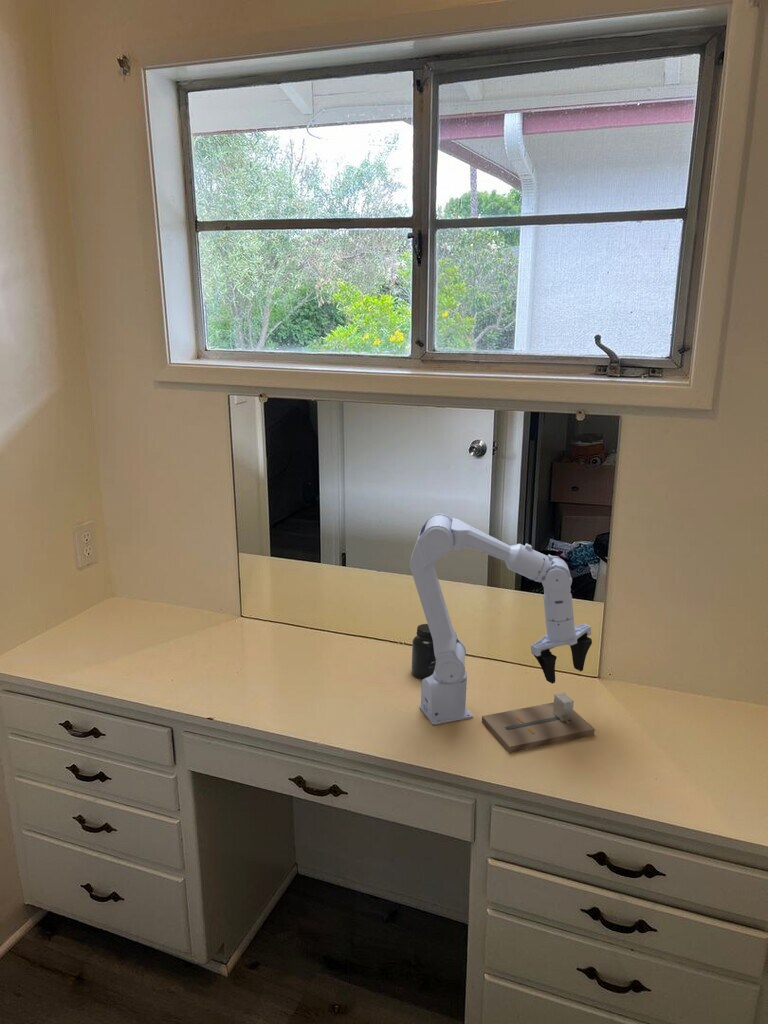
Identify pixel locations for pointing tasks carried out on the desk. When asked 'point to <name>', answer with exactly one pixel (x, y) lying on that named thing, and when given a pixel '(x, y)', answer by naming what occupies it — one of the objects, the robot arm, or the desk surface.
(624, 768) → the desk surface
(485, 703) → the desk surface
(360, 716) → the desk surface
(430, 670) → the supplement bottle
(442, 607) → the robot arm
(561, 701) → the fader tab
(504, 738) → the console board
